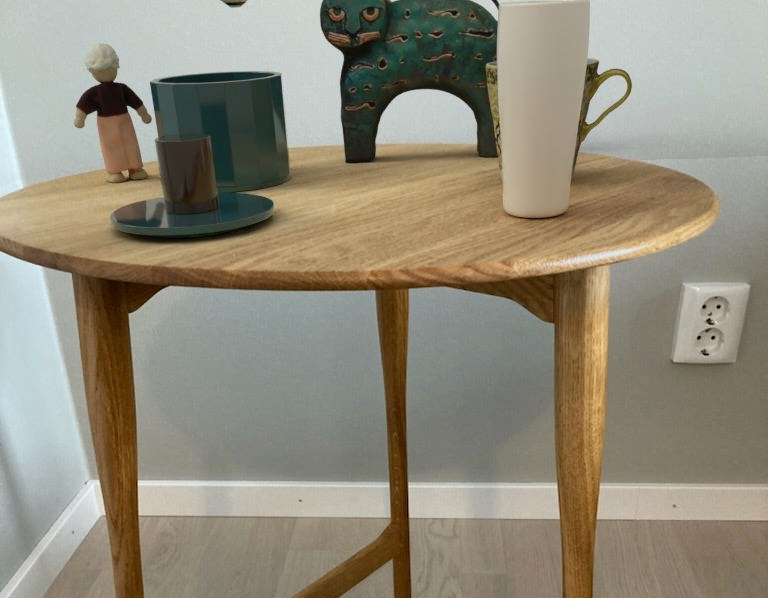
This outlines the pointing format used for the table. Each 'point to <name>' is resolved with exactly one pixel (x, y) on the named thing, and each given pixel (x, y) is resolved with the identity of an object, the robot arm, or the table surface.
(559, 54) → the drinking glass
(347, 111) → the ceramic cat
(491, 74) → the ceramic cup
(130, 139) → the grandmother figurine
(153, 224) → the lid
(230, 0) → the lightbulb
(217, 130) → the tin
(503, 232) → the table surface
